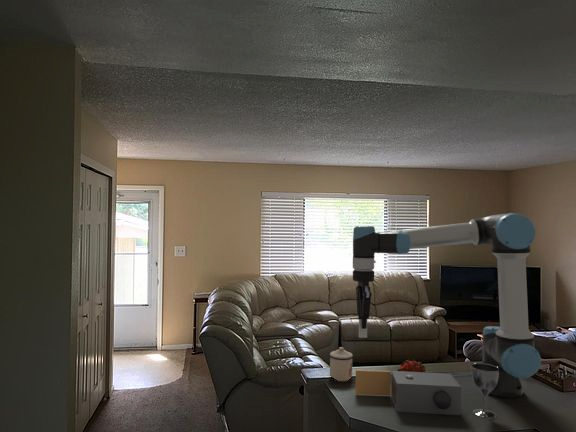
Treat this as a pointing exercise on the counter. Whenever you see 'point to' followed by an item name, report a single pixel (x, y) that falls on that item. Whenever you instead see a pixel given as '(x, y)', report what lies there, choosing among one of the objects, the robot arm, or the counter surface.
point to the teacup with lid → (341, 364)
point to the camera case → (425, 393)
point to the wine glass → (485, 385)
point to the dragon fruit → (411, 366)
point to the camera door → (372, 382)
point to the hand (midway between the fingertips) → (362, 337)
